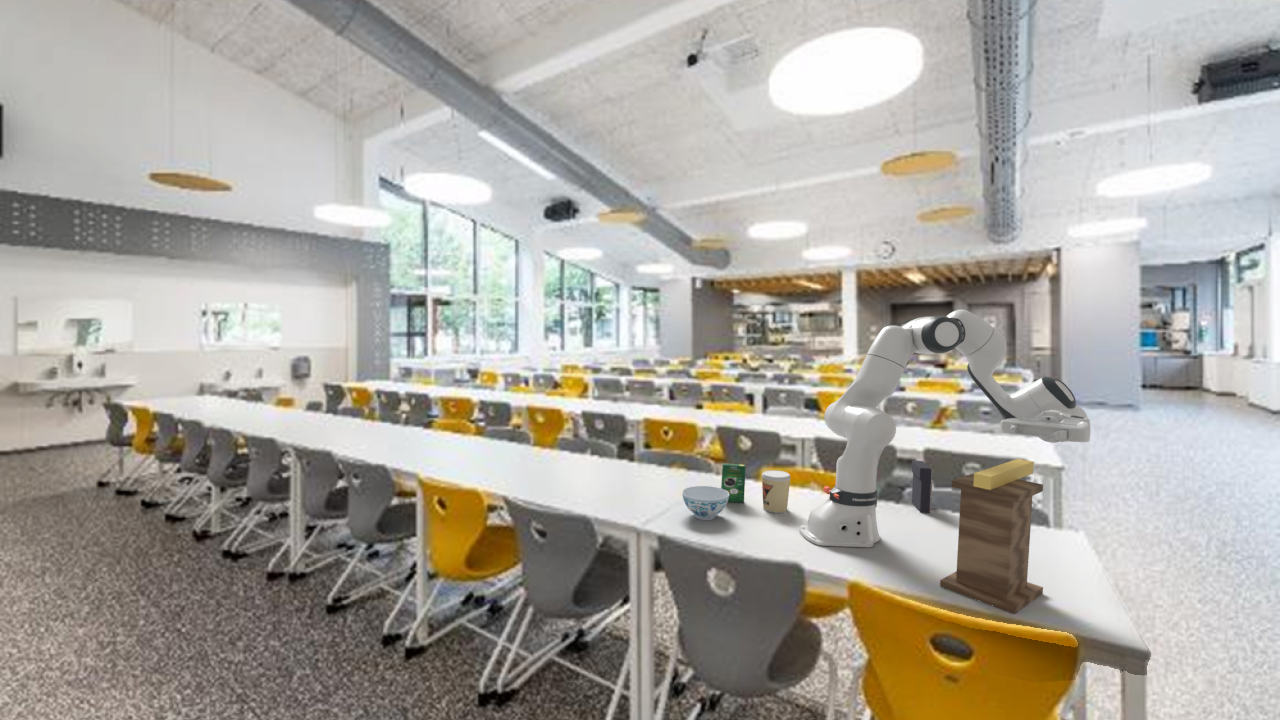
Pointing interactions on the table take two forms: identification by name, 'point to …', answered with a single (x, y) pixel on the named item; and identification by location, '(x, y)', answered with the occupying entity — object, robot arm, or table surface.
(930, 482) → the dark grey upright block
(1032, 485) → the walnut stand
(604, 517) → the table surface
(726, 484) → the coffee box
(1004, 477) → the mustard bar
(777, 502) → the coffee cup
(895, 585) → the table surface
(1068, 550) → the table surface
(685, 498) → the chinaware
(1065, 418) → the robot arm
